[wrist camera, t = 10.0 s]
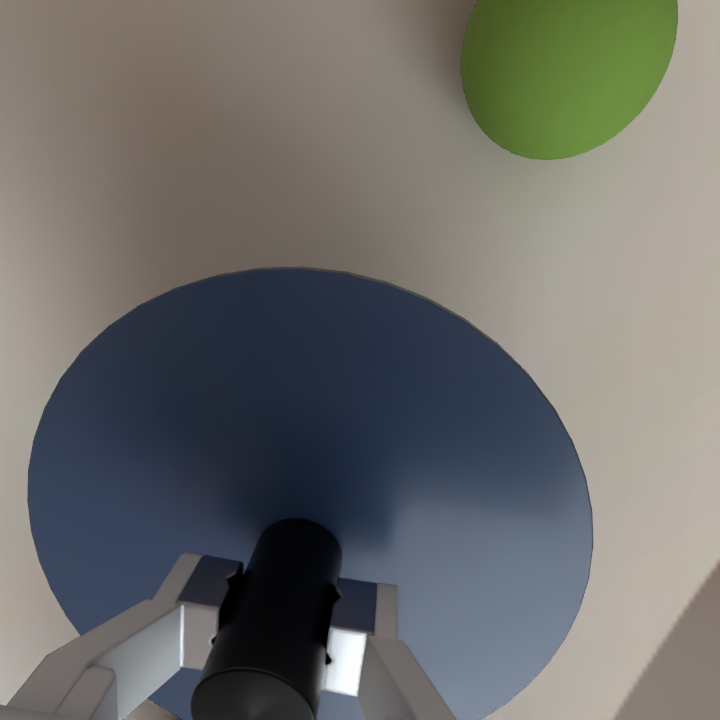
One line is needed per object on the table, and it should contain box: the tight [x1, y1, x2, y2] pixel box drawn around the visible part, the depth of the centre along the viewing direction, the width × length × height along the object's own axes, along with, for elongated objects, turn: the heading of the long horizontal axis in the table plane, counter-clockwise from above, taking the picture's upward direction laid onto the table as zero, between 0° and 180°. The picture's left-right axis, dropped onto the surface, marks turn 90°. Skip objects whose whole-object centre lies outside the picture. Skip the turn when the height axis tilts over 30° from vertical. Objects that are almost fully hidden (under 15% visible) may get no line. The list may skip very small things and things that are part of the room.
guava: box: [461, 0, 678, 160], centre depth 14 cm, size 6×6×6 cm
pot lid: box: [28, 267, 593, 720], centre depth 12 cm, size 16×16×6 cm
